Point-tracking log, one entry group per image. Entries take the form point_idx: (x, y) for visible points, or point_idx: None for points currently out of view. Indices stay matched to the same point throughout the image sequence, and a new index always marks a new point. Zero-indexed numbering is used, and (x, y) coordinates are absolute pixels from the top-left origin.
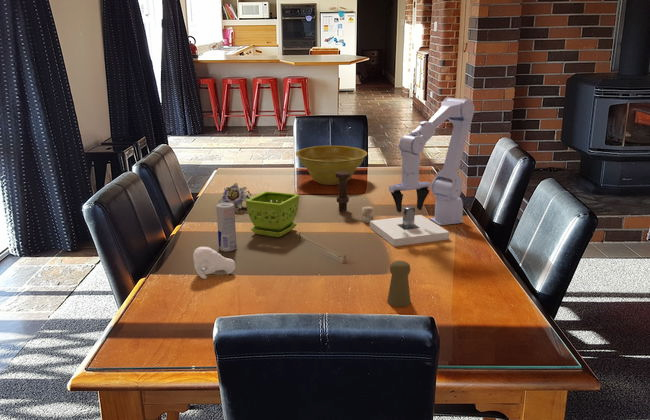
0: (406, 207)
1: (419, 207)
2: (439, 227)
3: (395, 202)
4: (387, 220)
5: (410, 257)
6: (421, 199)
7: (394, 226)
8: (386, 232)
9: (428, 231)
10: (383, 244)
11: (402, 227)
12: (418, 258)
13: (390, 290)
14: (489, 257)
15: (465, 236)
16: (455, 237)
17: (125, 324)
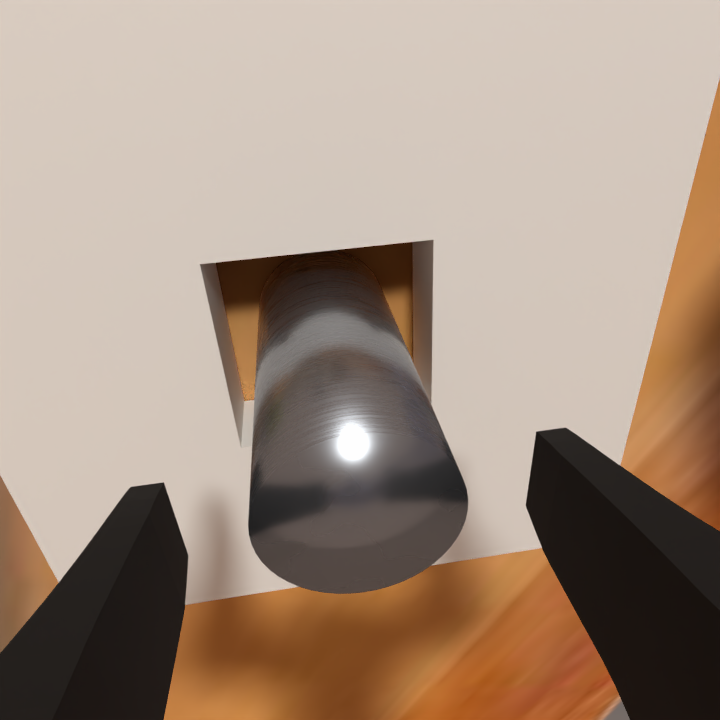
0: (329, 494)
1: (545, 524)
2: (608, 436)
3: (32, 646)
4: (88, 20)
5: (176, 694)
6: (634, 710)
7: (151, 326)
8: (16, 484)
9: None
10: (6, 521)
11: (258, 330)
12: (220, 704)
13: None
14: (580, 699)
15: (716, 461)
16: (639, 468)
17: None
